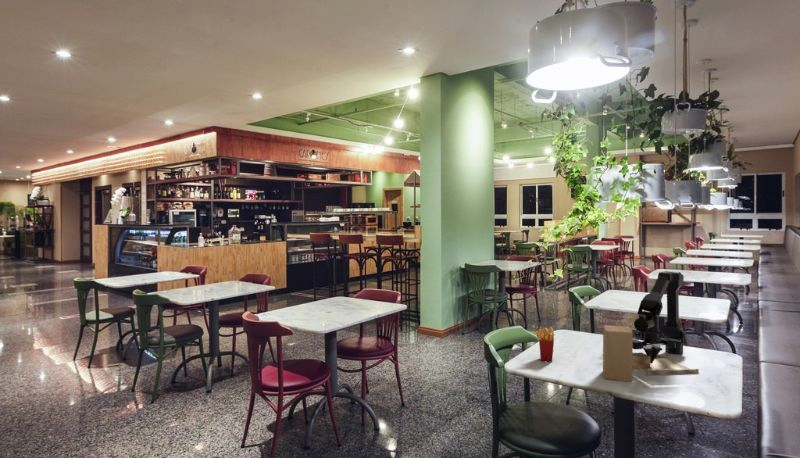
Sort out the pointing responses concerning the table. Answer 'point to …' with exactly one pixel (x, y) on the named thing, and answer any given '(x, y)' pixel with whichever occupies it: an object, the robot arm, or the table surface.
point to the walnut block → (640, 361)
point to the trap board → (667, 367)
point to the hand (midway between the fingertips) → (650, 363)
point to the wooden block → (617, 353)
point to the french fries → (546, 344)
